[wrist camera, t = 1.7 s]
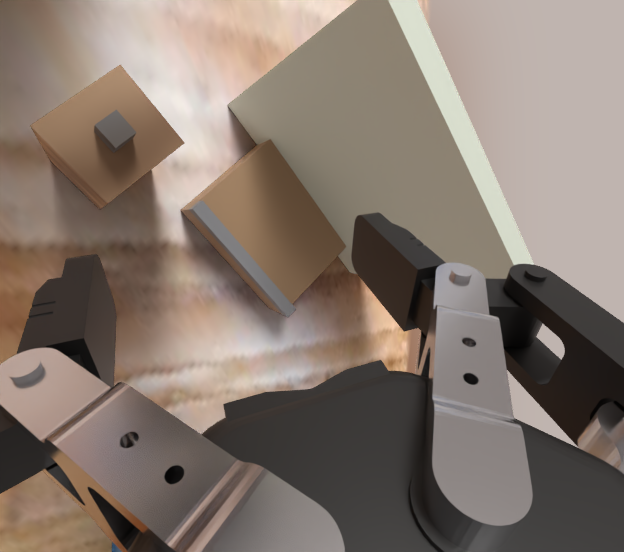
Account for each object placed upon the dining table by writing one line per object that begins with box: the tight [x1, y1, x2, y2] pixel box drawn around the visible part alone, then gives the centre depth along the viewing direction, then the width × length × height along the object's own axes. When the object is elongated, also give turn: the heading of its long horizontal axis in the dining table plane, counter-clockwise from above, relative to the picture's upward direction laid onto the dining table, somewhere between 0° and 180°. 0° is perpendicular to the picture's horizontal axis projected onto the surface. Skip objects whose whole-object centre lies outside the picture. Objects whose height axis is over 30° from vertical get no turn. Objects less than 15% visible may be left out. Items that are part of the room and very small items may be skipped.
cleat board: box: [181, 0, 534, 317], centre depth 28 cm, size 20×10×20 cm, turn 41°
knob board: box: [30, 65, 184, 209], centre depth 24 cm, size 4×5×14 cm
